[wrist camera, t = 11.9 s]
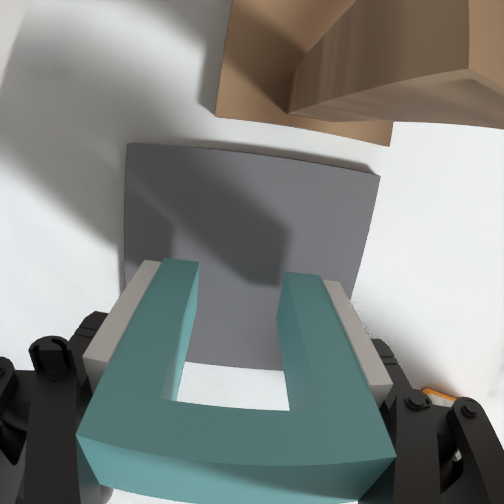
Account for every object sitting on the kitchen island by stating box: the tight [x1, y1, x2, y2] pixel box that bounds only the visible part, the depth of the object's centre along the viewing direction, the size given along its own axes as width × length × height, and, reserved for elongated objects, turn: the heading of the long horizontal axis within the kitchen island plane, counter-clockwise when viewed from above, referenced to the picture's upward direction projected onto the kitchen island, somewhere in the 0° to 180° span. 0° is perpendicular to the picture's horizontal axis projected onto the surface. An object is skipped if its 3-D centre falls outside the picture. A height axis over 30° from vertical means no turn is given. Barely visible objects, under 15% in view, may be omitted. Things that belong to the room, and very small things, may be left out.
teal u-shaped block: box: [76, 258, 397, 504], centre depth 10 cm, size 7×2×10 cm, turn 83°
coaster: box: [124, 143, 381, 371], centre depth 16 cm, size 12×12×1 cm
